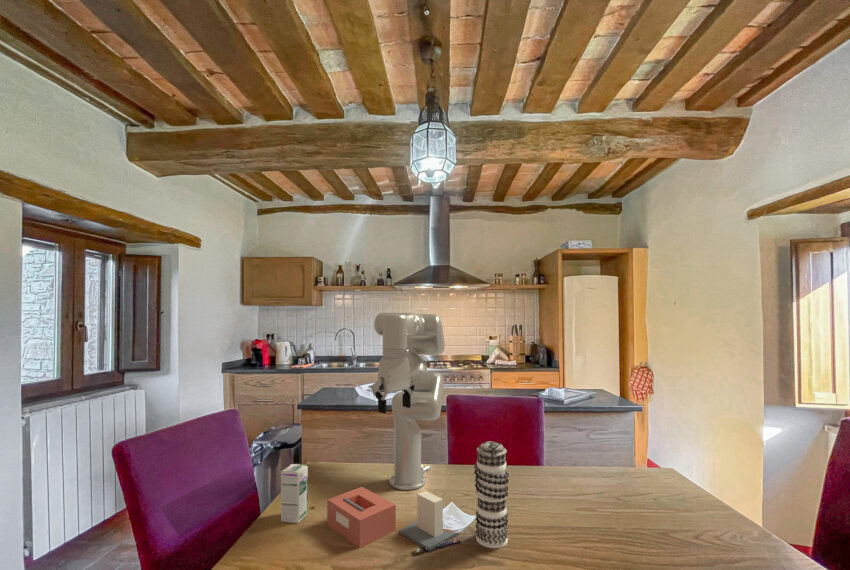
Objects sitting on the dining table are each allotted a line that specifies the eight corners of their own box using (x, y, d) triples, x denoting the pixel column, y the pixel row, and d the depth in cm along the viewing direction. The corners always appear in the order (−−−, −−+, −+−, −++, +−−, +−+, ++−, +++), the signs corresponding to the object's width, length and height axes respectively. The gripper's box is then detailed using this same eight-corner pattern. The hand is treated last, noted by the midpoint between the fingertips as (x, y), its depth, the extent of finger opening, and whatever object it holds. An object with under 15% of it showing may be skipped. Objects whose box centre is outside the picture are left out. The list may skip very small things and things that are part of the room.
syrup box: (298, 523, 120) (299, 472, 120) (279, 521, 121) (280, 470, 122) (308, 513, 125) (308, 464, 126) (290, 511, 127) (290, 463, 127)
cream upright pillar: (425, 523, 119) (425, 490, 119) (442, 532, 114) (442, 499, 114) (417, 526, 117) (417, 494, 117) (434, 537, 112) (434, 502, 112)
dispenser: (361, 510, 128) (362, 485, 128) (395, 530, 116) (395, 503, 117) (326, 524, 119) (326, 498, 120) (359, 548, 108) (359, 519, 108)
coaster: (430, 517, 123) (430, 514, 123) (460, 533, 115) (460, 530, 115) (399, 532, 115) (399, 529, 115) (429, 551, 106) (429, 548, 107)
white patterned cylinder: (473, 529, 117) (472, 438, 118) (506, 530, 117) (505, 439, 118) (475, 548, 108) (475, 450, 109) (512, 549, 107) (511, 450, 109)
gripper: (407, 350, 138) (407, 403, 138) (364, 355, 126) (364, 412, 126) (423, 352, 133) (423, 407, 132) (380, 357, 121) (379, 417, 120)
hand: (394, 409), depth 129 cm, fingers open, 9 cm apart
